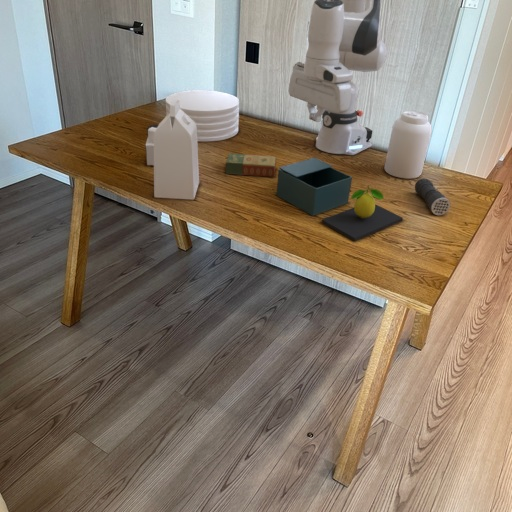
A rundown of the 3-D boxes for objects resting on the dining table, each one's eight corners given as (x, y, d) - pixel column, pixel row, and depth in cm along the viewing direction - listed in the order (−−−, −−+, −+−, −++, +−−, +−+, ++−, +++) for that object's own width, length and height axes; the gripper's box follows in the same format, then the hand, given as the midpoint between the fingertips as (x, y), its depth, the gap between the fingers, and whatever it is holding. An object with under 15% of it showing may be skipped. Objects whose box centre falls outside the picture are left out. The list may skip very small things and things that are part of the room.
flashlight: (411, 192, 156) (415, 176, 153) (428, 192, 157) (432, 176, 154) (429, 215, 143) (434, 198, 140) (447, 215, 144) (452, 198, 141)
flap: (278, 168, 145) (278, 167, 145) (314, 158, 153) (314, 157, 152) (296, 177, 140) (296, 176, 140) (332, 166, 148) (332, 165, 148)
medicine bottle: (148, 157, 169) (146, 122, 163) (170, 157, 170) (168, 123, 163) (146, 165, 163) (144, 129, 157) (168, 165, 164) (167, 130, 157)
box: (276, 195, 149) (278, 169, 145) (311, 184, 157) (314, 159, 153) (312, 215, 139) (316, 188, 135) (347, 203, 147) (352, 177, 143)
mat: (369, 204, 147) (369, 201, 147) (402, 220, 140) (402, 217, 139) (321, 222, 136) (321, 219, 136) (354, 241, 129) (354, 238, 128)
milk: (162, 180, 154) (157, 95, 140) (199, 182, 154) (198, 97, 140) (154, 197, 144) (148, 107, 130) (193, 199, 144) (192, 110, 130)
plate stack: (236, 143, 185) (237, 112, 179) (161, 139, 184) (159, 108, 178) (239, 120, 208) (240, 92, 202) (172, 116, 208) (171, 88, 202)
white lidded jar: (376, 171, 169) (388, 112, 158) (395, 162, 177) (407, 105, 166) (409, 182, 162) (424, 122, 151) (427, 172, 170) (442, 114, 159)
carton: (274, 177, 160) (275, 165, 158) (224, 173, 161) (225, 161, 159) (275, 167, 167) (276, 155, 165) (228, 163, 168) (228, 151, 166)
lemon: (379, 220, 137) (386, 187, 131) (363, 226, 134) (370, 192, 128) (362, 211, 141) (368, 178, 136) (346, 215, 138) (352, 182, 133)
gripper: (285, 61, 135) (281, 112, 142) (340, 78, 122) (333, 132, 129) (302, 59, 138) (297, 109, 146) (358, 75, 125) (349, 128, 133)
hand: (314, 120), depth 137 cm, fingers closed
